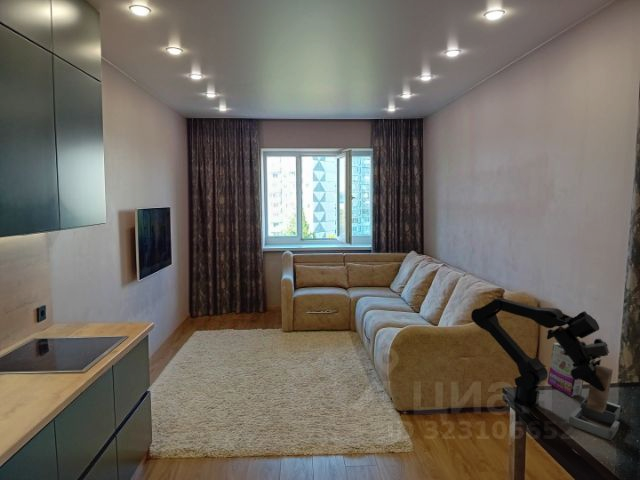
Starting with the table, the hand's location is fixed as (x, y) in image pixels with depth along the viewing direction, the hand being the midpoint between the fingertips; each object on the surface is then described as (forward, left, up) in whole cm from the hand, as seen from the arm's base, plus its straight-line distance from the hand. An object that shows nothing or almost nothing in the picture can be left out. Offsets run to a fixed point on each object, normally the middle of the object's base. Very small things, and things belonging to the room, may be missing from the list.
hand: (604, 388), depth 146 cm
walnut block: (-1, 0, -7) cm, 7 cm away
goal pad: (-3, +18, -13) cm, 23 cm away
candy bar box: (-16, +22, -14) cm, 31 cm away
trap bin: (-2, +9, -13) cm, 16 cm away
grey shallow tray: (-1, 0, -13) cm, 14 cm away
